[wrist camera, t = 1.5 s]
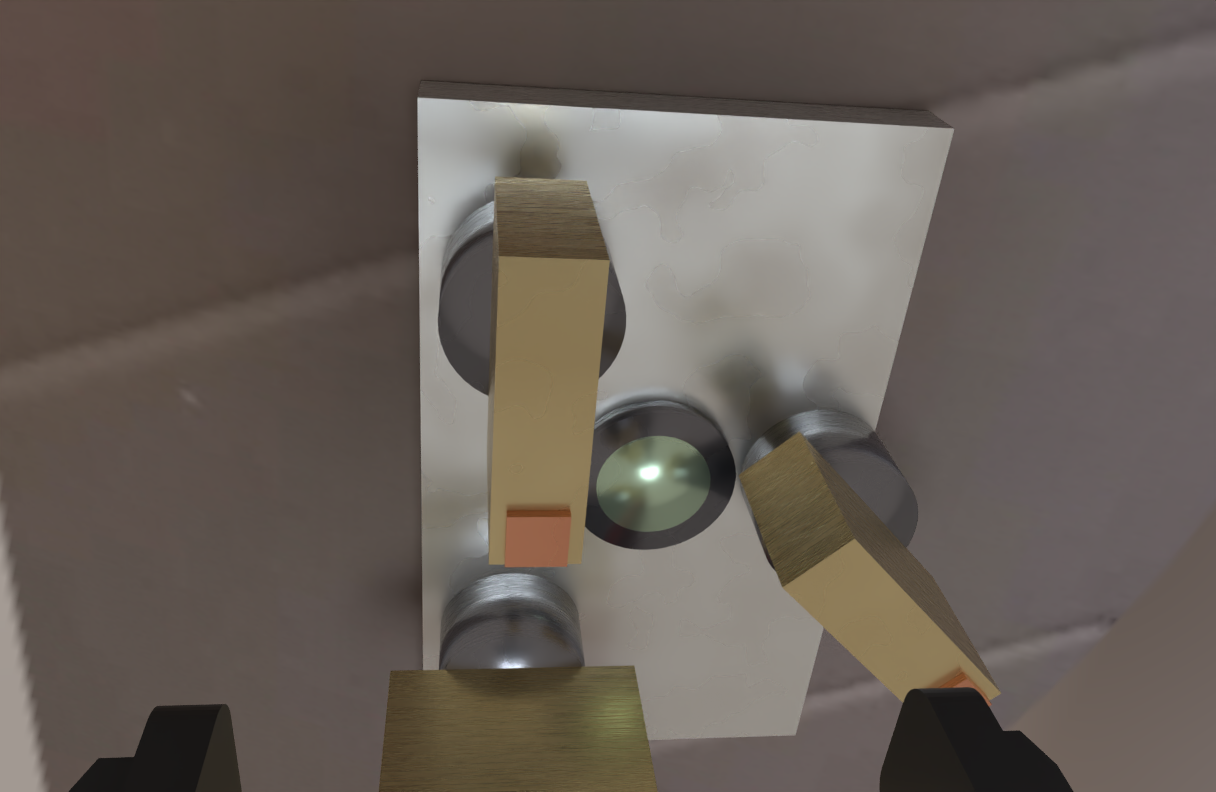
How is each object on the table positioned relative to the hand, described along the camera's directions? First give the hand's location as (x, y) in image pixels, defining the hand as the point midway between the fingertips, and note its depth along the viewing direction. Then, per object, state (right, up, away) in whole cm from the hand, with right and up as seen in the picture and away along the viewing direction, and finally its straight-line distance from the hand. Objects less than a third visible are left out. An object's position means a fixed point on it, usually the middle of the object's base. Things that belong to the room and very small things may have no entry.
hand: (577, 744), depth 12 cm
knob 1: (-1, +7, +11) cm, 14 cm away
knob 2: (-2, -3, +17) cm, 17 cm away
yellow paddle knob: (+6, +2, +15) cm, 17 cm away
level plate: (+1, +2, +16) cm, 16 cm away
